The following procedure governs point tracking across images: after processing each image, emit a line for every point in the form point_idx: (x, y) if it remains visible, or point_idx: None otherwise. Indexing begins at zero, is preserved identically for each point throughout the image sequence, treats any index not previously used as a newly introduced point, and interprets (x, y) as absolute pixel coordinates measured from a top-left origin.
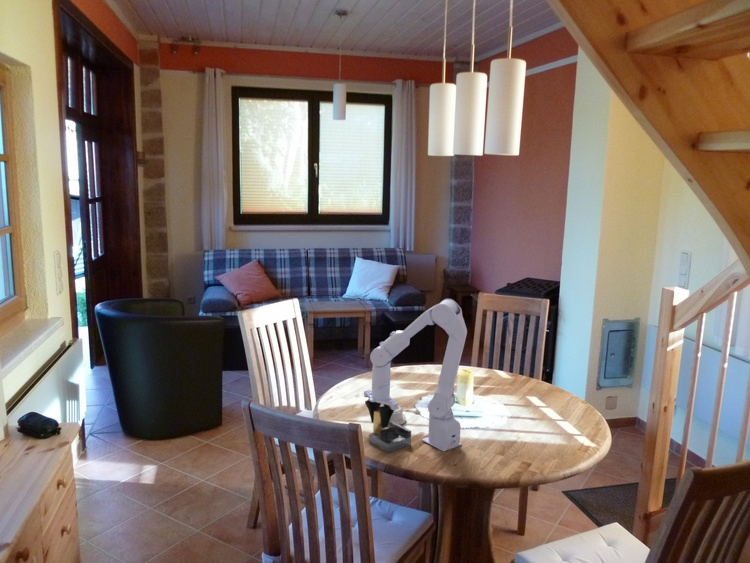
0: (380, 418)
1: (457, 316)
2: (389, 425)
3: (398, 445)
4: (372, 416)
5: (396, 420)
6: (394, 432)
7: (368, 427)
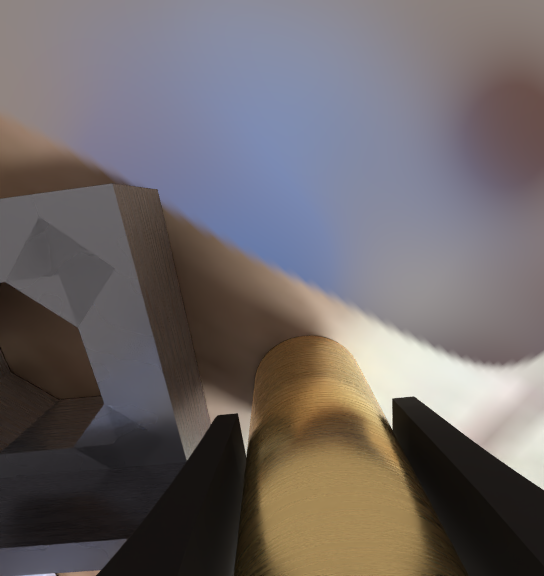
0: (248, 509)
1: None
2: None
3: None
4: (438, 460)
5: None
6: (66, 448)
7: (434, 352)
